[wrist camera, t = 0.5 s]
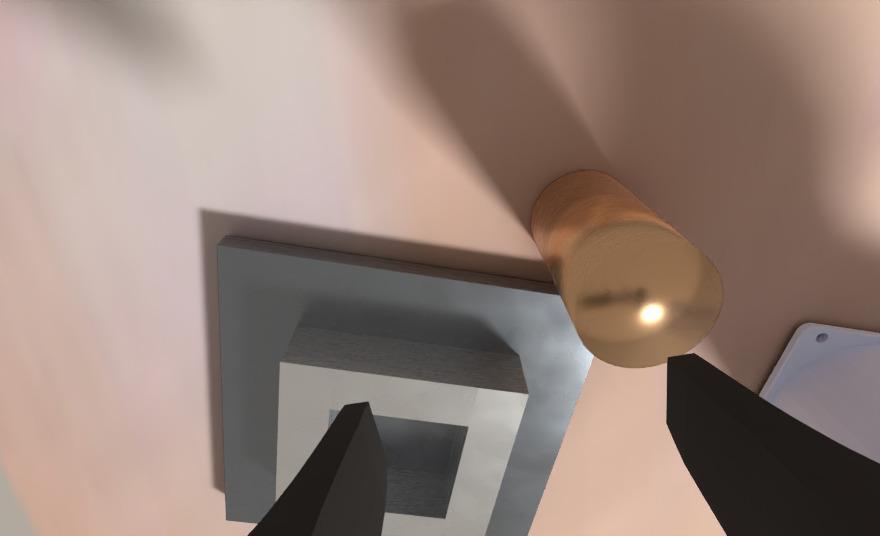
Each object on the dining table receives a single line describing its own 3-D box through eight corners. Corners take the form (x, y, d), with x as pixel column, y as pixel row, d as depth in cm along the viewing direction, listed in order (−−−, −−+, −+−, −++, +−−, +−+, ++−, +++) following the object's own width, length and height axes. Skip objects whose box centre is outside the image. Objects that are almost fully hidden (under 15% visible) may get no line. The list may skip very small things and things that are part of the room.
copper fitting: (645, 179, 19) (748, 254, 13) (612, 270, 21) (689, 376, 15) (545, 162, 19) (600, 230, 13) (520, 256, 21) (557, 358, 14)
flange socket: (605, 291, 21) (635, 337, 18) (518, 534, 28) (529, 598, 25) (226, 235, 20) (187, 274, 17) (233, 503, 27) (206, 566, 24)
